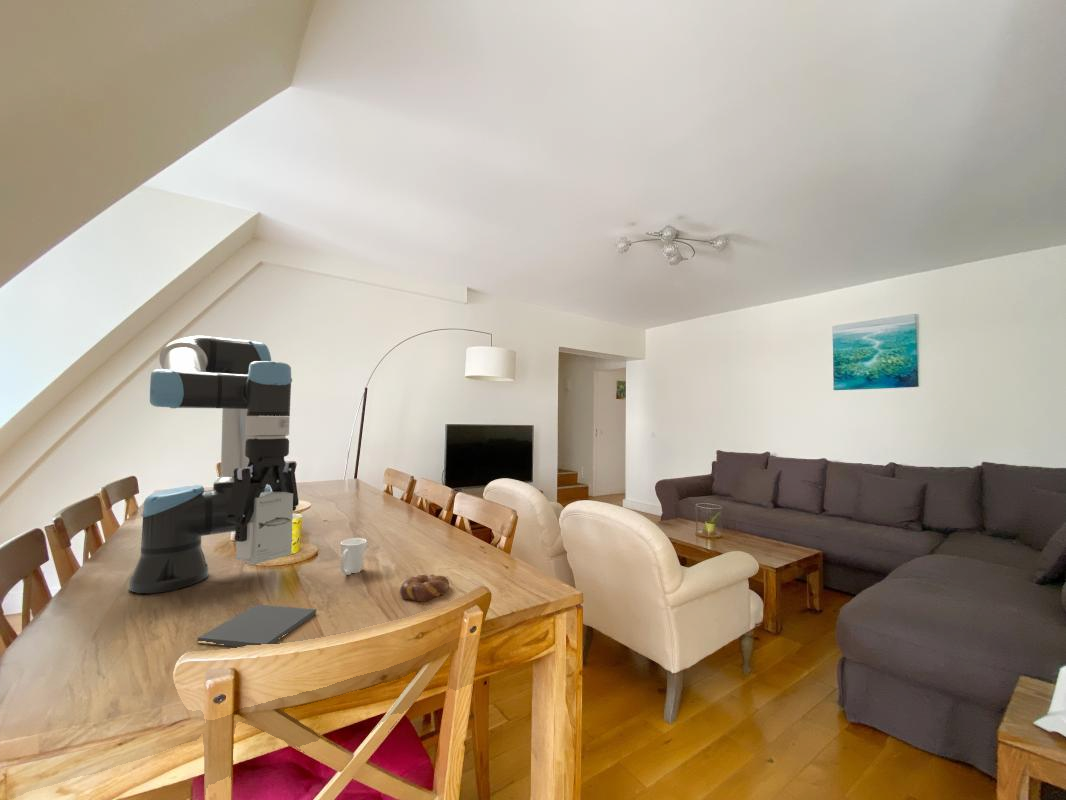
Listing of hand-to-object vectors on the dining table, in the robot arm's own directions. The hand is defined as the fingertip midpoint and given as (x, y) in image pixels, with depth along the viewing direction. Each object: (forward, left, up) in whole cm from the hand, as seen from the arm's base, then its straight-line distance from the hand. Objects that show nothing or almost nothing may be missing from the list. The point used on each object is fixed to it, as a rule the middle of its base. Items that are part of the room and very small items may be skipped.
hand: (264, 549), depth 84 cm
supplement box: (0, 0, -2) cm, 2 cm away
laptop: (0, 0, -15) cm, 15 cm away
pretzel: (+25, +22, -16) cm, 37 cm away
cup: (+1, +30, -16) cm, 34 cm away
